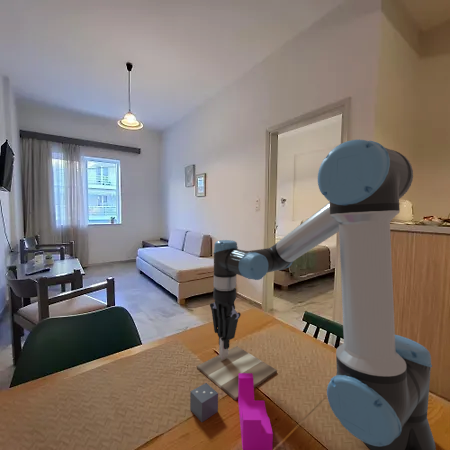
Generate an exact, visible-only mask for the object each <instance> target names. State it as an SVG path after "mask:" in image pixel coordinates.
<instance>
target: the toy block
mask: <svg viewBox="0 0 450 450" xmlns="http://www.w3.org/2000/svg"><path fill="white" fill-rule="evenodd" d="M237 400H238V401H237V403H238V413H239V414H238V415H239V424H240V425H239V426H240V436H241V437H240V438H241V447H242V449H243V450H273V443H274V442H273V439H274V438H273V437H274V433H273V429H272V424H271V421H270V420H271V419H270V417H269V416H268V413H267V409H266V403H265V402H266V401H265V400H261V399H260V400H258V399H257V400H255V388H254V383H253V373H239V377H238V399H237Z"/></svg>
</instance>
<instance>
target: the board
mask: <svg viewBox="0 0 450 450" xmlns="http://www.w3.org/2000/svg"><path fill="white" fill-rule="evenodd" d="M196 370H198V371H199V370H200V371H199V372H201V373H202V375H204V376H205V377H207V378H208V379H209V380H210V381H211V382H213V383H214V384H215V385H216V386H217V387H219V389H221V390H222V391H223V392H224V393H226V394H227V395H228V397H229V396H230V398H232V399H233V400H234V401H237V400H238V377H239V373H253V383H254V389H255V388H257V387H258V386H259V385H261V384H262V383H263V382H265V381H266V380H268V379H270V378H271V377H272V376H273V375H275V374H277V373H278V372H277V371H278V369H276V368H275V367H273V366H271V365H269V363H266V362H265V361H262V360H261V359H260V358H258V357H256V356H254V355H253V354H251V353H249V351H246V350H245V349H243V348H241V347H239V346H238V345H236V346H234V347H232V348H229V349H228V356H227V357H225V358H223V359H222V358H220V357H219V354H218V355H216V356H214V357H212V358H209V359H208V360H206V361H204V362H202V363H199V364H198V365H196Z"/></svg>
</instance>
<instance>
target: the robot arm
mask: <svg viewBox="0 0 450 450" xmlns="http://www.w3.org/2000/svg"><path fill="white" fill-rule="evenodd" d="M413 179H414V170H413V167H412V164H411V163H410V160H409V159H408V158H407V156H405V155H404V154H402V153H400V152H399V151H396V150H394V149H389V148H387V147H385V146H383V145H382V144H381V143H379V142H377V141H374V140H367V139H352V140H348V141H344V142H343V143H342V142H341V143H340V144H338V145H337V146H334V147H333V148H332V149H331V150H330V151H329V153H328V154H327V155H326V157H324V159H322V161H321V164H320V166H319V169H318V172H317V184H318V185H317V186H318V189H319V192H320V193H321V195H322V196H324V198H325V199H326V200H327V201H329V202H328V203H326V204H325V205H324V206H323V207H322V208H320V209H319V210H317V211H316V212H315V213H314V214H312V215H311V216H310V217H309V218H307V219H305V220H304V221H303V222H302V223H300V224H299V225H298V226H297V227H295V228H294V229H292V230H291V231H290V232H289V233H287V234H286V235H285V236H284V237H282V238H281V239H280V240H279V241H278V242H276V243H274V244H273V245H272V246H271V247H267V248H260V249H253V250H252V249H251V250H243V249H239V248H238V247H239V246H238V242H237V241H235V240H231V239H230V240H227V239H223V240H217V241H215V242H214V248H213V292H212V293H213V294H212V295H213V296H212V297H213V300H214V302H211V303H209V307H210V310H211V316H212V322H213V324H212V325H213V331H214V333H215V334H217V337H218V345H219V346H218V347H219V349H218V350H219V353H218V355H219V357H220V358H222V359H223V358H225V357H227V356H228V350H229V349H230V341H231V340H232V339H234V338H235V337H236V336H235V335H236V332H237V327H238V321H239V318H240V317H241V312H238V311H237V310H236V306H235V301H236V299H237V288H236V287H237V275H238V276H241V277H244V278H245V279H248V280H255V281H259V280H262V279H263V278H264V277H265V276H266V275H267V273H272V272H273V273H274V272H277V271H283V270H285V269H288V268H290V267H291V266H292V265H293V262H294V261H295V260H297V259H299V258H300V257H301V256H304V255H305V254H306V253H308V252H310V251H312V249H314V248H315V247H317V246H319V245H320V244H322V243H323V242H326V241H327V240H328V239H329V238H331V237H333V236H334V235H336V234H337V233H338V235H339V255H340V257H339V258H340V259H339V260H340V261H339V263H340V279H341V280H340V283H341V305H342V306H341V307H342V331H343V333H342V334H343V343H341V344H340V345H339V346H338V347H337V348H336V351H335V357H336V358H335V360H336V362H335V363H336V374H335V375H334V376H333V377H331V378H330V381H329V382H328V385H327V387H326V396H327V401H328V404H329V406H330V409H331V411H332V413H333V414H334V416H335V418H337V419H338V420H339V422H340V423H341V425H342V426H343V428H344V429H346V430H347V431H348V433H350V434H351V435H352V436H354V437H355V438H356V439H357V440H359V441H361V442H363V443H364V444H365V446H366V447H368V449H370V450H437V449H436V442H435V439H434V435H433V432H432V430H431V426H430V423H429V419H428V409H429V408H428V407H429V398H430V397H429V396H430V395H429V394H430V382H431V371H432V370H431V369H432V368H433V365H432V356H431V352H430V351H429V350H428V349H427V347H425V346H424V345H422V344H420V343H419V342H417V341H414V340H413V339H410V338H408V337H405V336H401V335H398V334H396V332H395V331H396V329H395V311H394V310H395V309H394V307H395V306H394V305H395V303H394V286H393V285H394V283H393V282H394V281H393V263H392V262H393V260H392V241H391V222H392V220H393V219H395V217H396V216H397V215H398V214H399V213H400V211H401V210H400V209H401V208H400V199H401V198H403V197H404V195H405V194H406V193H408V191H409V189H410V188H411V186H412V183H413Z"/></svg>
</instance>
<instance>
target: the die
mask: <svg viewBox="0 0 450 450" xmlns="http://www.w3.org/2000/svg"><path fill="white" fill-rule="evenodd" d="M189 395H190V401H189V403H190V405H189V407H190V411H191V412H192V413H193V414H194V416H195V417H196V418H197V419H198V421H200V422H201V423H203V422H205V421H206V420H208V419H209V418H211V417H212V416H215V414H217V413H219V393H218V391H216V390H215V389H214V388H213V387H212V386H210V385H209V383H207V382H205V383H203V384H202V385H200V386H197V387H196V388H194V389H192V390H191V391H190V394H189Z"/></svg>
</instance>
